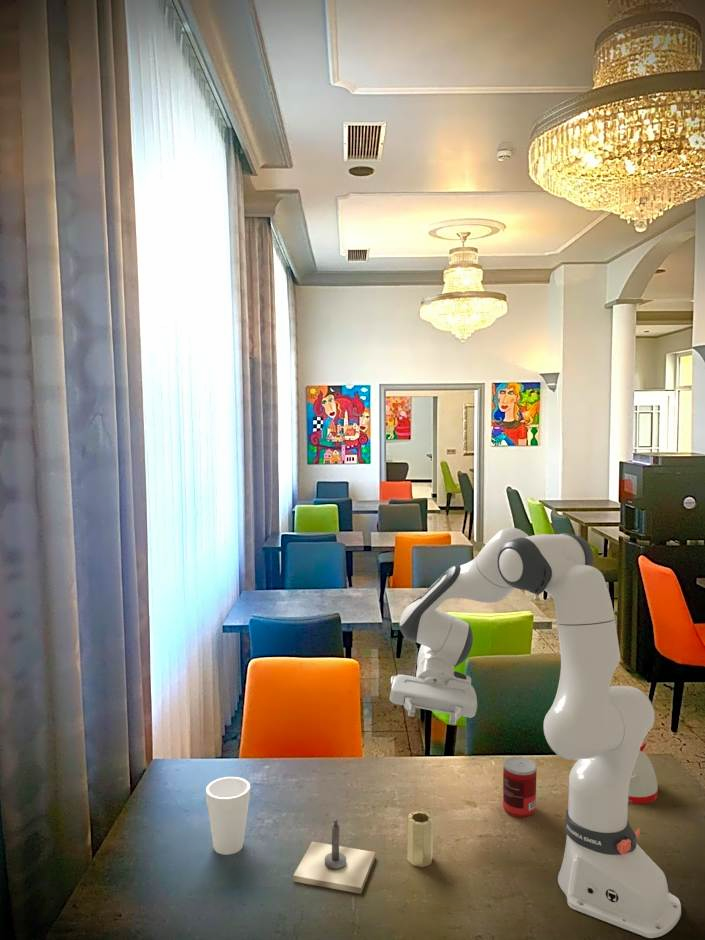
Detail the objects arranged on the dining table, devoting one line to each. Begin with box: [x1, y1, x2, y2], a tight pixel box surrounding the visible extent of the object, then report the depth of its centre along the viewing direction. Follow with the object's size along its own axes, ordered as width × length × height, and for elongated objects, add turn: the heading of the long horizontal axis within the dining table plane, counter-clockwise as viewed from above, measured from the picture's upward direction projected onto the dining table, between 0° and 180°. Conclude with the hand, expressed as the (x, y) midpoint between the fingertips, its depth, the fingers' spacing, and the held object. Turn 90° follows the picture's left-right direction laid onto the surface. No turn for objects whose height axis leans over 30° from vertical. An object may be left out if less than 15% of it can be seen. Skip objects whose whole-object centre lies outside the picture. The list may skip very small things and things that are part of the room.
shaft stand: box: [292, 818, 376, 895], centre depth 144 cm, size 14×12×10 cm
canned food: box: [502, 756, 538, 819], centre depth 167 cm, size 8×8×11 cm
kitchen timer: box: [628, 742, 659, 804], centre depth 177 cm, size 14×14×15 cm
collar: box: [406, 810, 434, 868], centre depth 148 cm, size 5×5×9 cm
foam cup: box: [205, 776, 251, 856], centre depth 152 cm, size 10×9×13 cm
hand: (432, 717), depth 158 cm, fingers open, 8 cm apart
